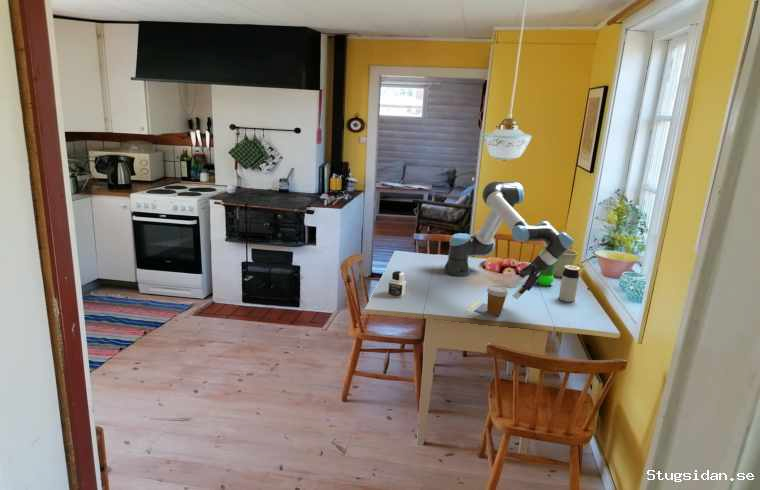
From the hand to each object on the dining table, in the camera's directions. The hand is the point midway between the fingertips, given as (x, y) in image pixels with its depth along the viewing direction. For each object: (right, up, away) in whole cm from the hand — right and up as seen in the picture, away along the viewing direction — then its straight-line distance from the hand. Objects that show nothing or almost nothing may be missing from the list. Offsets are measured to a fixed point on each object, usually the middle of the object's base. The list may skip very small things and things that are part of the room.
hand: (513, 291), depth 232 cm
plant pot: (+46, +3, +64) cm, 79 cm away
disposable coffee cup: (-10, -10, -3) cm, 14 cm away
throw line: (-18, -8, +4) cm, 20 cm away
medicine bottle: (-56, -3, +14) cm, 57 cm away
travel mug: (+35, -7, +23) cm, 42 cm away
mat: (-11, -9, +1) cm, 15 cm away
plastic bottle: (+31, 0, +46) cm, 55 cm away
